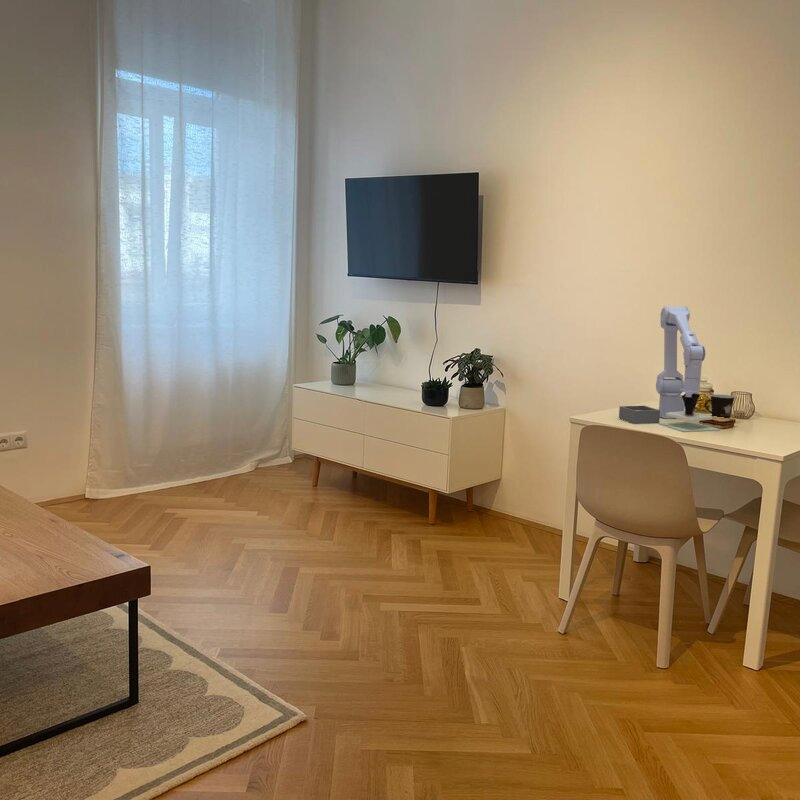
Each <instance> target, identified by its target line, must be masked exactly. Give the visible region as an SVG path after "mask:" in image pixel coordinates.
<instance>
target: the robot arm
mask: <svg viewBox="0 0 800 800" xmlns="http://www.w3.org/2000/svg"><path fill="white" fill-rule="evenodd" d="M690 315H691V311H690V309H689V307H688V306H663V308H662V309H661V311H660V320H659V321H660V328H662V329H663V330H664V331H663V335H664V336H663V337H664V343H663V344H664V345H663V346H664V347H663V349H664V354H663V357H664V361H663V363H664V364H663V367H664V369H663V370H662V371H660V373H658V374H657V376H656V382H655V390H656V393H657V394H658V395H659V402H658V410H660V418H663V419H676V418H675V417H671V416H666V413H668V412H679V411H685V412H686V414H688V415H692V413H693V409H694V411H695V410H696V406H697V402H698V400H699V398H700V397H701V394H700V393H701V379H702V378H701V377H702V367H703V366H702V363H703V362H704V360H705V359H706V349H705V346H704V345H702V344H701V343H700V342H699V341H698V338H697V336H696V332H694V331H692V330H691V327H690V324H689V323H690V322H689V321H690V317H691V316H690ZM678 331H679V333H680V336H679V339H680V343H681V346H682V347H683V353H682V354H683V363H684V375H683V374H682V373H681V372H679V370H678ZM683 392H684V393H685V394H683ZM681 394H682V395H681Z"/></svg>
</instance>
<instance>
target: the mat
mask: <svg viewBox="0 0 800 800" xmlns="http://www.w3.org/2000/svg"><path fill="white" fill-rule="evenodd" d="M700 423H701V422H698V421H674V422H673V421H671V422H670V421H669V422H667V421H666V422H659V423H657V424H658V425H660V426H663V427H667V428H670V429H673V430H676V431H678V432H679V431H680V432H681V433H690V432H691V433H692V432H712V431H713V432H714V431H715V432H716V431H718V432H719V431H721V428H717V427H715V426H714V427H713V426H711V425H708V424H707V425H706V424H704V425H703V423H701V424H700Z"/></svg>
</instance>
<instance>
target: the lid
mask: <svg viewBox="0 0 800 800" xmlns="http://www.w3.org/2000/svg"><path fill="white" fill-rule="evenodd" d="M666 416H671V417H675V418H674V419H680V420H684V421H687V422H700V421H707V420H709V421H710V420H712V419H713V416H712V415H707V414H703V413H699V412H695V410H694V409H693V413H692V415H688V414H686V412H685V410H684V411H679V412H668V413H666Z"/></svg>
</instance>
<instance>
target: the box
mask: <svg viewBox="0 0 800 800" xmlns="http://www.w3.org/2000/svg"><path fill="white" fill-rule="evenodd" d="M635 410H640V411H635ZM618 412H619V413H618V419H619V418H620V419H619V420H621V419H623V420H622V421H624V420H625V422H627V421H628V422H627V423H630V424H633V425H643V424H658V423H660V418H661V417H660V410H659V408H654V407H651V406H647V405H625V406H624V405H622V406H621V405H620V406H619V409H618Z"/></svg>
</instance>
